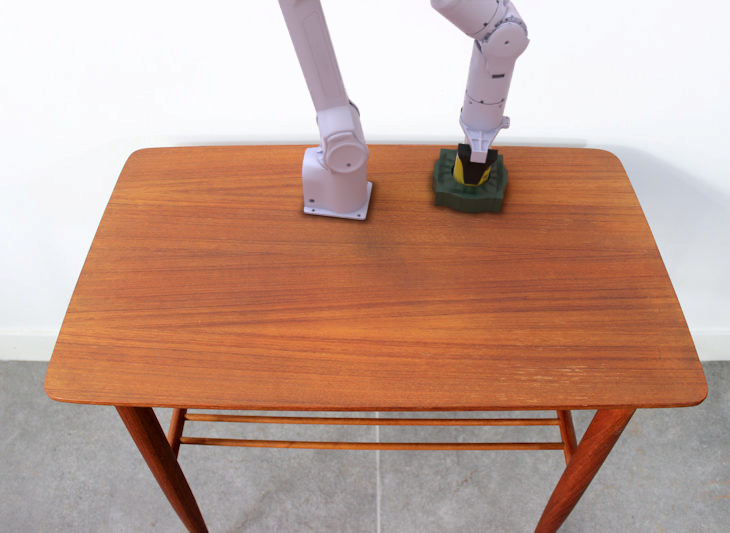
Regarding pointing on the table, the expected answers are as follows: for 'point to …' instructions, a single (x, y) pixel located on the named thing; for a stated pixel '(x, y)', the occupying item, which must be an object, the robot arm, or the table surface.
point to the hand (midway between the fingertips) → (471, 167)
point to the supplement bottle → (459, 170)
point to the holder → (468, 196)
